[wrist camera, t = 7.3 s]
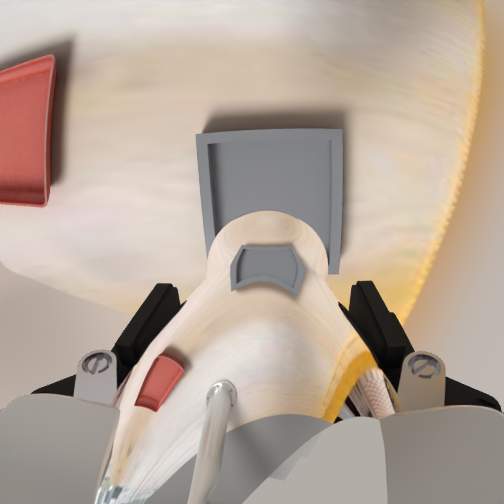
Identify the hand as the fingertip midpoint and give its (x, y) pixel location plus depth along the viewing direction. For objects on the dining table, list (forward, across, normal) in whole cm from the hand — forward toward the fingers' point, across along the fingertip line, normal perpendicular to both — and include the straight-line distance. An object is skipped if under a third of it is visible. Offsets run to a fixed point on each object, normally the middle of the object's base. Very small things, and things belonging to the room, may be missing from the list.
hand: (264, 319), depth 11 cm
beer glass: (+5, 0, 0) cm, 5 cm away
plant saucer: (+20, +32, -12) cm, 40 cm away
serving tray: (+20, 0, 0) cm, 20 cm away
